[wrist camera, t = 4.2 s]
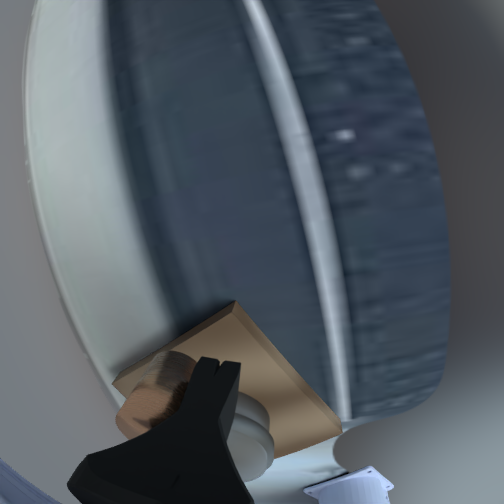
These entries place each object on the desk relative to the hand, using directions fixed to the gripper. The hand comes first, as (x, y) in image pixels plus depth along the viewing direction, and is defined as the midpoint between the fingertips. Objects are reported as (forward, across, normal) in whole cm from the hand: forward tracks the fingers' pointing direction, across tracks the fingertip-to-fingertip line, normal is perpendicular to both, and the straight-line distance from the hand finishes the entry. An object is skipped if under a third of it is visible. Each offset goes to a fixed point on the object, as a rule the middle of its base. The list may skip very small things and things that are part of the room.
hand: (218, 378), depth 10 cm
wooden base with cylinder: (+6, 0, +8) cm, 11 cm away
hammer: (+1, +1, +4) cm, 5 cm away
